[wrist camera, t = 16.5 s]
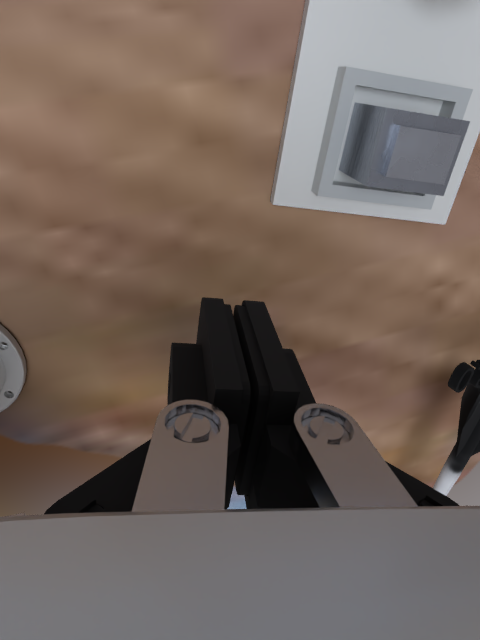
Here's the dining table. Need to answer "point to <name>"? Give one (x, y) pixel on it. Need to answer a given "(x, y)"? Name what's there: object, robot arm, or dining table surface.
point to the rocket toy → (463, 425)
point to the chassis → (375, 96)
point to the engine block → (401, 149)
